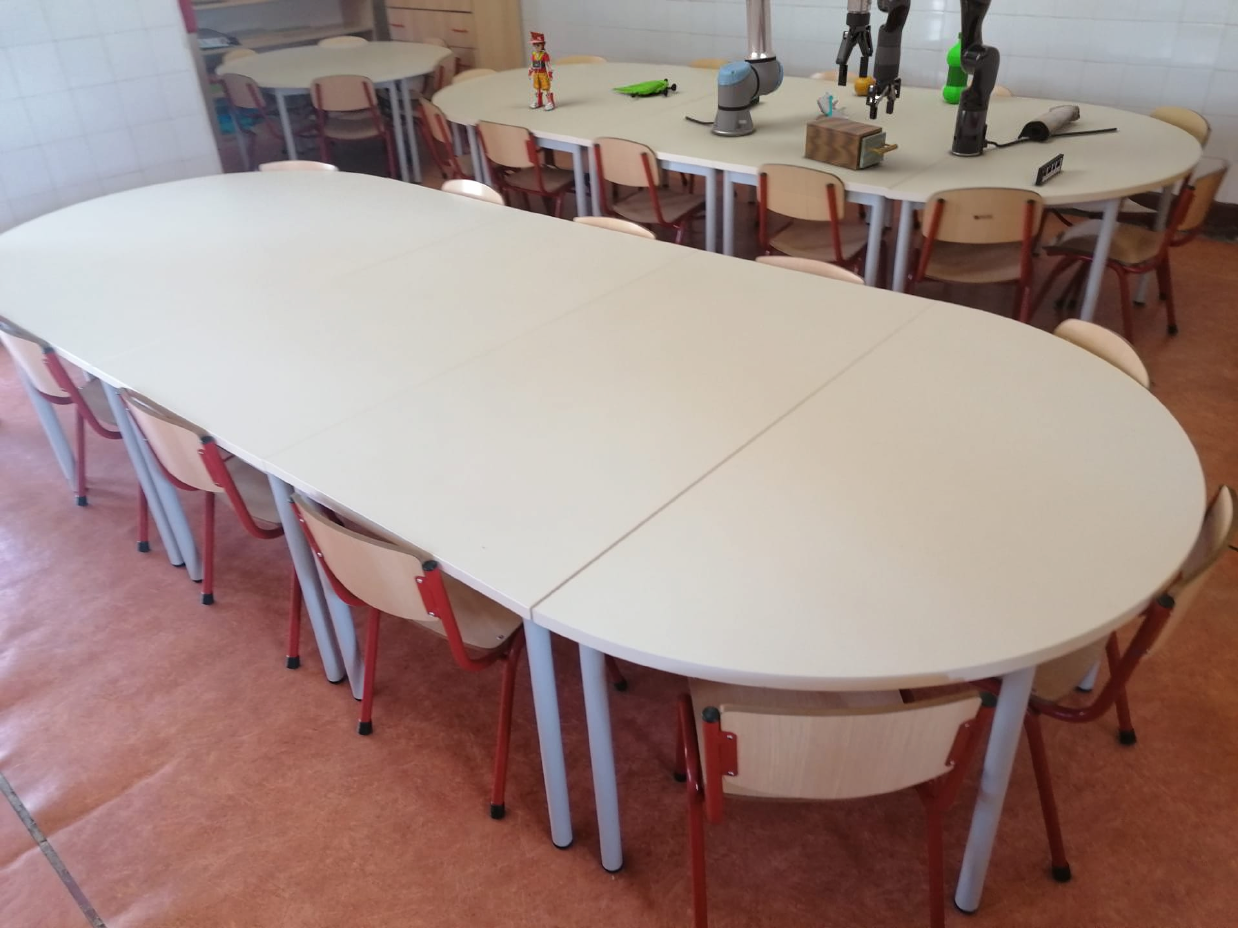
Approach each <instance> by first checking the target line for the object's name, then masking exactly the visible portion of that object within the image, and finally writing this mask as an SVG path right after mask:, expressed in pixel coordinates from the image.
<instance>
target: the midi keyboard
mask: <svg viewBox="0 0 1238 928" xmlns="http://www.w3.org/2000/svg"><path fill="white" fill-rule="evenodd" d="M1064 157H1065V153H1059V154H1058V155H1056V156H1055V157H1052V159H1051V160H1049V161H1047V162H1045V164H1042V165H1041V166H1039V167H1038V169H1037V175H1036V179H1035V186H1040V185H1042V183H1044V182H1045V181H1047V180H1048V179H1049V178H1051V177H1052V176H1054V175H1055V174H1056V173H1058V172H1060V171H1061V170H1062V165H1063V161H1064Z"/></svg>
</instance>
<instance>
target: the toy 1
mask: <svg viewBox="0 0 1238 928" xmlns="http://www.w3.org/2000/svg"><path fill="white" fill-rule="evenodd" d="M529 33H530V35H531V36H528V37H527V38H528V39H529V40H528V41H527V43H529V44H530V43H531V44H532V48H533V50H534V51H533V52H532V55H531V58H530V59H531V63H530V66H528V74H527V75H528V76H527V77H528V79H529V80H531V75H532V74H533V84H532V85H533V86H532V87H533V88H534V89H535V90H536V92H534V95H535V97H536V100H535V101H533V102H531V105H530V108H531V109H535V108H538V107H542V106H544V101H543V100H544V99H543V95H544V92H546V94H545V97H546V99H547V103H546V104H545V106H544V110H546V111H549V110H553V109H554V107H555V106H556V105H555V99H554V92H551V91H550V90H551V86H552V84H551V82H552V81H553V80H554V77H553V73H554V71H555V70H554V69H552V68H551V63H550V61H551V59H550V58H551V57H550V54H549V53H548V52H547V50H546V48H545V46H546V44H547V41H545V35H544V33H543V32H542V33H539V32H535V31H529Z"/></svg>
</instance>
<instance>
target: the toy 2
mask: <svg viewBox="0 0 1238 928" xmlns="http://www.w3.org/2000/svg"><path fill="white" fill-rule="evenodd" d="M669 85H670V83H669V79H668V78H664V79H663V80H649V81H644V82H640V83H634V84H629V85H627V86H621V87H613V88H612V89H613V90H616V91H619V92H623V93H627V94H628V93H629V94H631V95H630V96H631V98H632V99H634V98H636V96H637V95H650V94H652V93H654V94H658V93H662V95H663V96H665V97H667V96H668V95H669V90H671V91H672V92H676V91H677V84H676V83H672V84H671V86H669Z"/></svg>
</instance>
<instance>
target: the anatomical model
mask: <svg viewBox="0 0 1238 928" xmlns="http://www.w3.org/2000/svg"><path fill="white" fill-rule="evenodd" d="M833 100H834V96H833V94H831V93H830V92H829V91H826V92H825V94H824V96H822V97H819V98H817V99H816V103H817V105H818V108H819V109H820V112H821V113H822V114H825V115H826V117H829V116H831V117H836V118H841V119H845V120H850V119H851V117H850V116H846V115H844V111H845V110H846V109H847V107H846V106H841V107H839V108H836V105H837V103H838V102H839V100H838V99H836V100H834V101H833Z"/></svg>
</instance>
